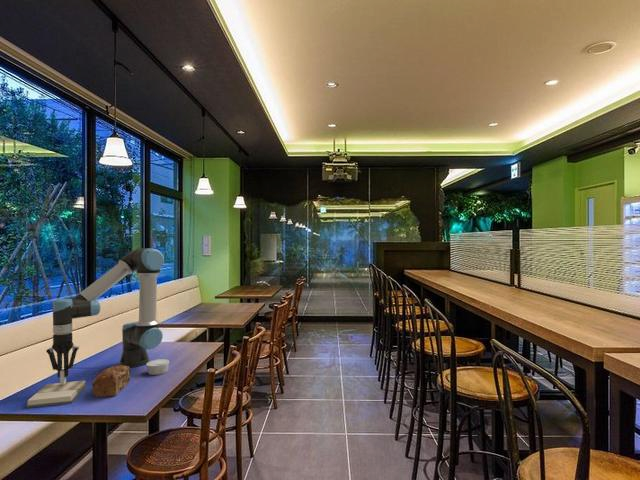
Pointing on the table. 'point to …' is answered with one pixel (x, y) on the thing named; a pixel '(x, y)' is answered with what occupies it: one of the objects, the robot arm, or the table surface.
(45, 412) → the table surface
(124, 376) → the bread
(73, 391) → the floor base
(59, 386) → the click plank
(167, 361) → the ramekin
